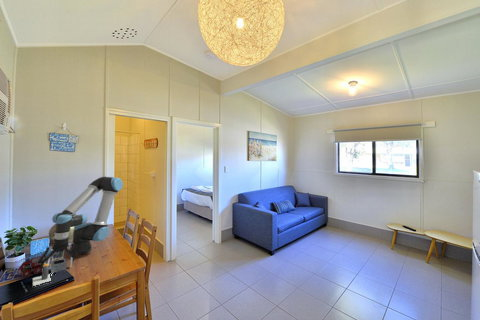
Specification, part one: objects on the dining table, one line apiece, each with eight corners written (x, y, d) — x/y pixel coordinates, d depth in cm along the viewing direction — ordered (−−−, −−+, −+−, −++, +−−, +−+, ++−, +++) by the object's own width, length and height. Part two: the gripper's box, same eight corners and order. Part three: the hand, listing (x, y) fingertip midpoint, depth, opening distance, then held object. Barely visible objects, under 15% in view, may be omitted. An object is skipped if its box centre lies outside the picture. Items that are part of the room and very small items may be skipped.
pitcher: (52, 247, 165) (56, 218, 166) (43, 241, 176) (46, 213, 178) (83, 240, 184) (86, 214, 186) (73, 235, 196) (76, 210, 197)
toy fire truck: (17, 274, 125) (19, 258, 126) (44, 268, 134) (46, 252, 135) (17, 279, 121) (19, 262, 121) (45, 272, 130) (46, 256, 130)
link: (49, 270, 132) (50, 261, 132) (64, 266, 137) (65, 258, 138) (50, 274, 127) (51, 265, 127) (66, 271, 132) (66, 262, 133)
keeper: (32, 279, 121) (34, 263, 121) (54, 274, 128) (56, 259, 129) (32, 287, 114) (34, 270, 114) (56, 280, 121) (57, 264, 122)
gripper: (35, 243, 122) (30, 278, 120) (85, 235, 140) (81, 265, 139) (35, 240, 127) (30, 273, 125) (83, 233, 145) (79, 262, 144)
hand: (57, 269), depth 132 cm, fingers open, 13 cm apart
